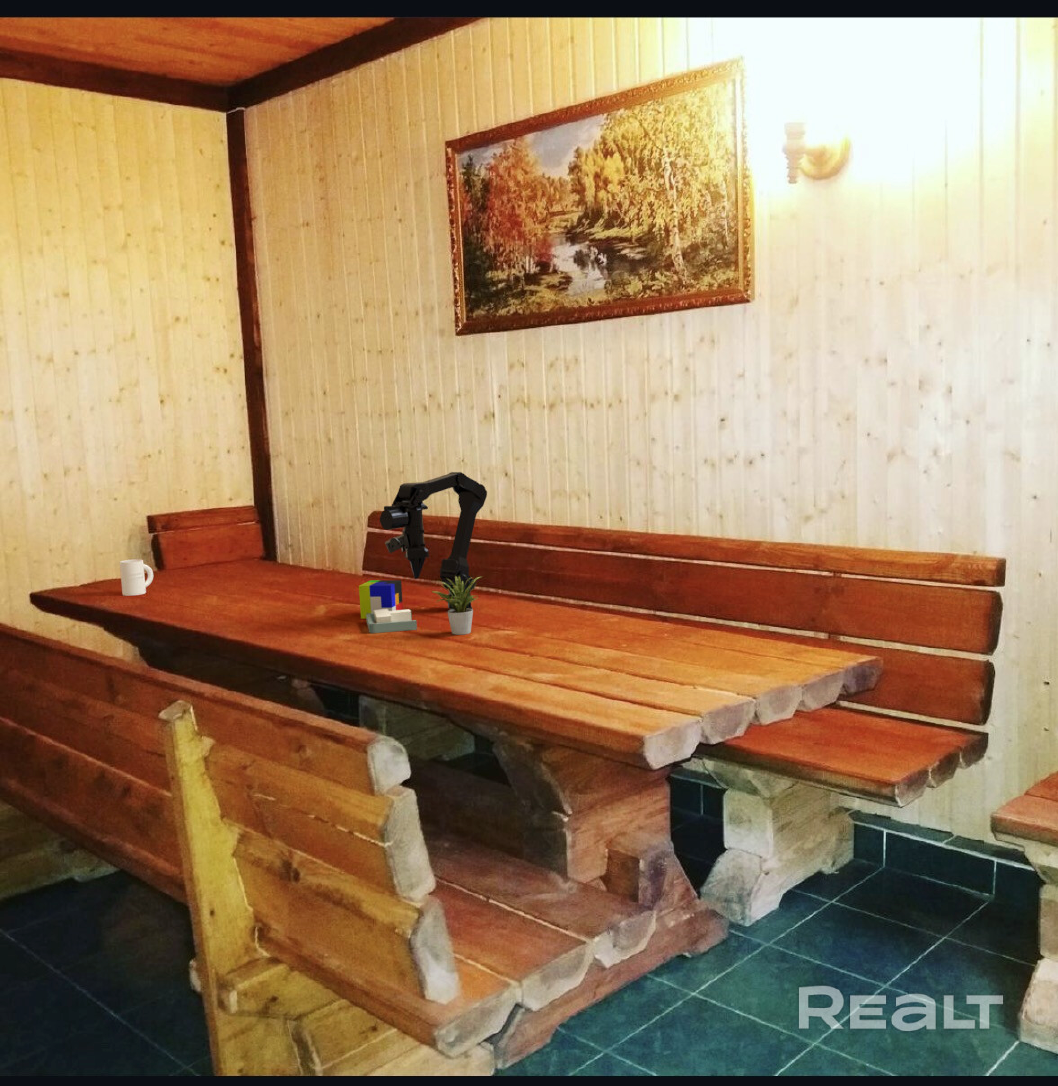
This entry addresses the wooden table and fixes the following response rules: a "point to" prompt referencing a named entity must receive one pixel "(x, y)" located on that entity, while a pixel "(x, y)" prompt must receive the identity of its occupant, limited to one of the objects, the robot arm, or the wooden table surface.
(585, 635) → the wooden table surface
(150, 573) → the mug
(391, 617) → the t block
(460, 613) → the house plant
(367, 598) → the puzzle toy
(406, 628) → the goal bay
